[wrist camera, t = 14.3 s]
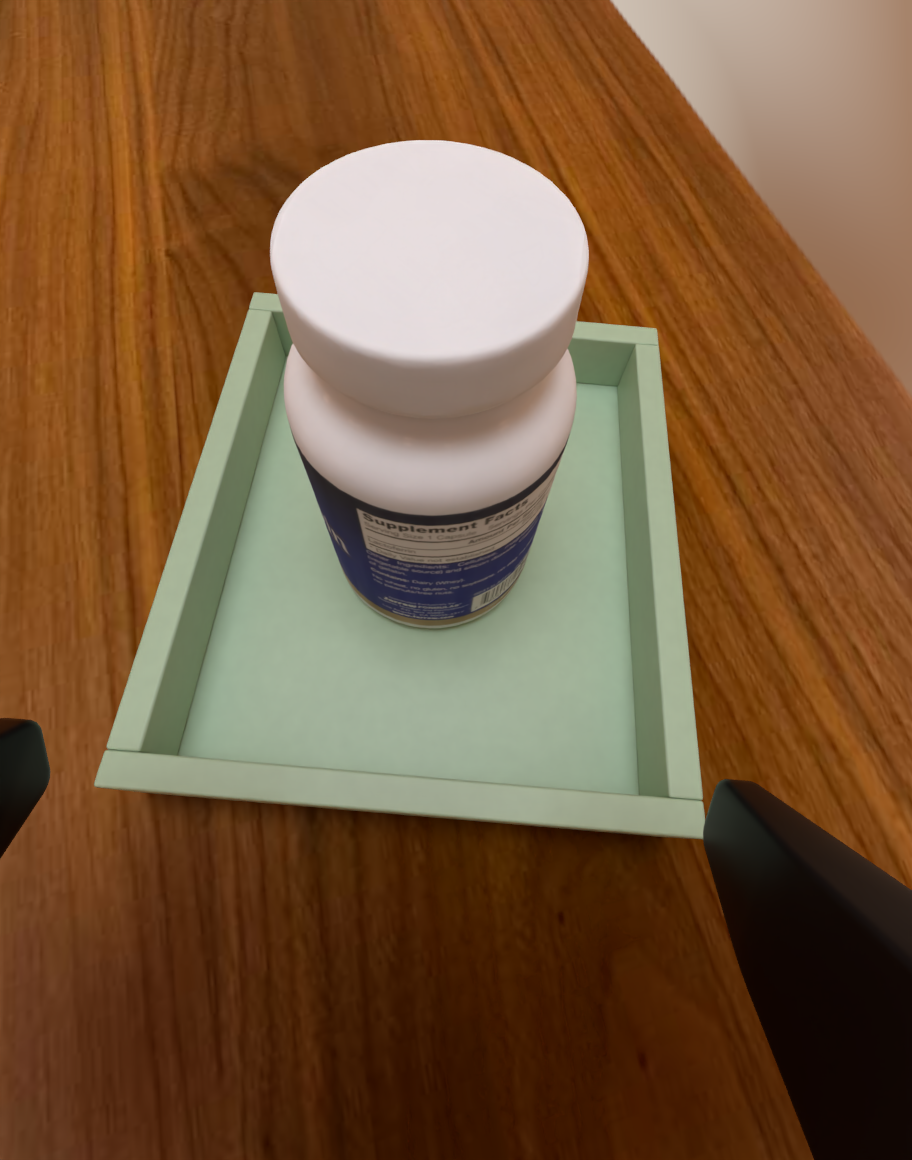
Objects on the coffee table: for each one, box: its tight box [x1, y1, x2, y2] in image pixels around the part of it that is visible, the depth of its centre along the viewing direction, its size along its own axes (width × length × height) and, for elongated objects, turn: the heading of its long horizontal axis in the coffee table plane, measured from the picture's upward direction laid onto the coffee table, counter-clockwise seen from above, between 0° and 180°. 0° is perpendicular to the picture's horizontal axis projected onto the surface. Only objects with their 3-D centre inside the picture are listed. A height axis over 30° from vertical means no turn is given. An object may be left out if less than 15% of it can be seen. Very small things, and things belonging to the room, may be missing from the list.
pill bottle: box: [270, 140, 589, 628], centre depth 12 cm, size 6×6×10 cm
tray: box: [94, 292, 705, 839], centre depth 16 cm, size 16×14×2 cm
